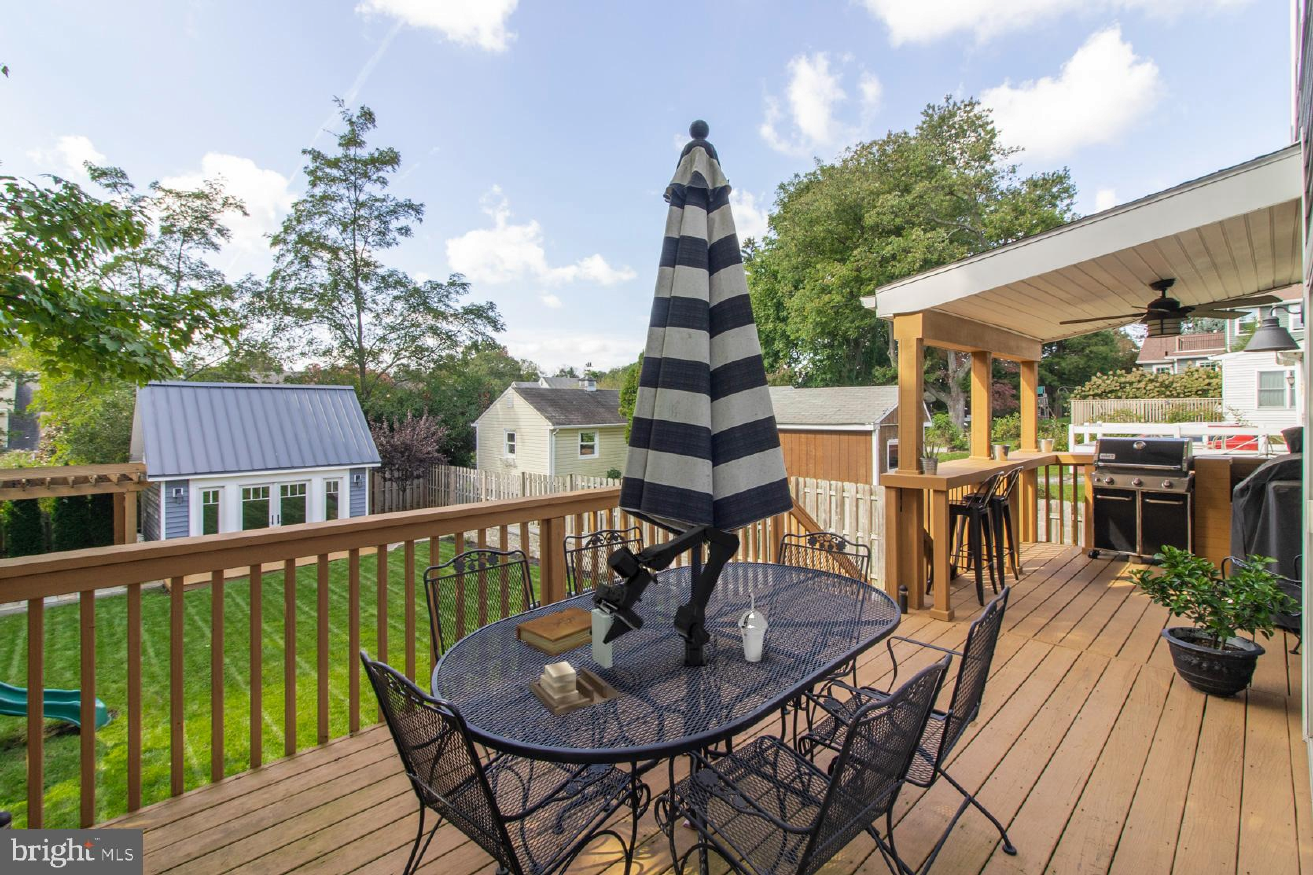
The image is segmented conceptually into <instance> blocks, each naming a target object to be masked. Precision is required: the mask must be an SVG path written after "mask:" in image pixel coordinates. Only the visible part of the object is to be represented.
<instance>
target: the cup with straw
mask: <svg viewBox="0 0 1313 875" xmlns="http://www.w3.org/2000/svg"><path fill="white" fill-rule="evenodd" d="M747 597H748V598H751V600H750V601H751V602H750V604H751V606H750V608H751V609H750V610H747V611H745V612H744V613H743V614H742V616H741V617H740V619H739V620H738V623H737V625H738V627H739V628H740V631H741V635H742V644H743V652H744V653H743V654H744V659H745V660H746V661H748V662H753V663H755V662H760V661H761V660H762V652H763V645H764V644H763V643H764V636H765V632H766V629H767V628H768V627H769V624H768V622H767V621H766V620H765V617H764V616H763V614H762V612H759V611H758V610H755V608H754V606H755V605H754V604H755V603H754V601H755V600H754V599H755V598H754V593H753V592H751V593H750V594H748V595H747Z"/></svg>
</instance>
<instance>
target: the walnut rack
mask: <svg viewBox="0 0 1313 875" xmlns="http://www.w3.org/2000/svg"><path fill="white" fill-rule="evenodd" d="M576 690H577V691H578V701H576V702H573V703H569V704H566V705H563V706H558V705H557V704H556V703H555V702H554V701H553V700H552V699H551V698H550V697H549V696H548V695H547V694H546V693H545V692H544V691H543V690H542V689H541V685H540V680H539V681H532V682H530V683H529V691H530V692H531V693H532V694H533V695H534V696H535V697H536V698H537V699H538V700H539V701H540V702H541V703H542V704H543V705H544V706H545V707H546V709H548V710H549V711H550V713H551V714H552V715H553V716H554V717H559V716H562V715H565V714H568V713H572V712H575V711H578V710H581V709H585V708H588V707H592V706H594V705H597V704H600V703H603V702H608V701H610V700H614V699H617V698H621V697H624V695H623V694H622V693H620V692H619V691H618V690H616V689H615V688H614V687H613V686H611V685H610V684H609V683H607V682H606V681H605V680H604V679H602V678H601V677H600V676H599V675H597V674H596V673H595V672H591V671H589V669H587V668H586V667H585V666H582V667H579V675H578V674H576Z"/></svg>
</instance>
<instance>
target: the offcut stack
mask: <svg viewBox="0 0 1313 875" xmlns="http://www.w3.org/2000/svg"><path fill="white" fill-rule="evenodd" d="M576 675H577V672H576V670H575V669H574V668H573V667H572V666H571V664H570V663H569V662H568V661H561V662H557V663H552V664H551V663H550V664H547V665H544V673H543V674H541V675H540V677H539V679H540V680H539V681H540V685H541V689H542V690H543V691H544V692H545V693H546V694H547V695H548V696H549V697H550V698H551V699H552V700H553V701H554V702H555V703H556V704H557V705H558V706H563V705H566V704H569V703H573V702H576V701H578V691H577V690H576Z"/></svg>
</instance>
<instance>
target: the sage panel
mask: <svg viewBox="0 0 1313 875" xmlns="http://www.w3.org/2000/svg"><path fill="white" fill-rule="evenodd" d="M590 612H591V613H592V642H591V646H592V647H591V648H592V660H593V661H594V662H595V663H597V664H598V665H599V666H601V667H603V668H604V669H609V668H613V641H611V642H609V643H607V644H604V643H603V640H604V638H605V636H606V634H607V633H608V631H609V629H610V628H611V626H612V619H611V617H612V615H611V614H607V613H605V612H603V611H602V610H600V609H595V608H594V609H592V610H591V611H590Z"/></svg>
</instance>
